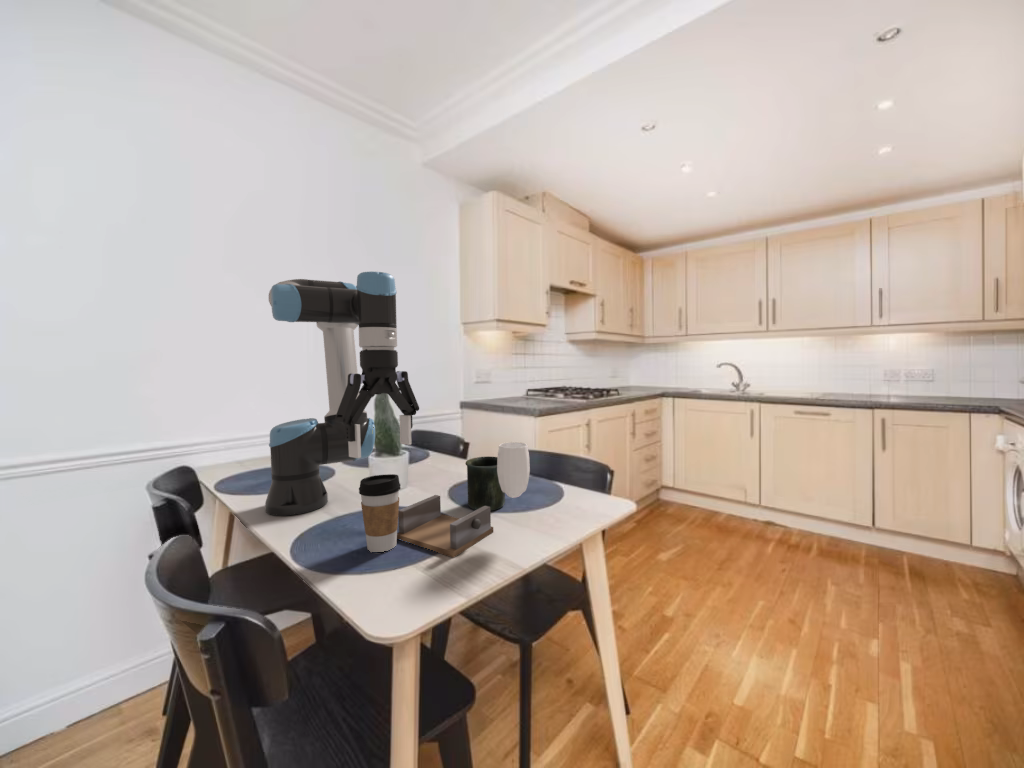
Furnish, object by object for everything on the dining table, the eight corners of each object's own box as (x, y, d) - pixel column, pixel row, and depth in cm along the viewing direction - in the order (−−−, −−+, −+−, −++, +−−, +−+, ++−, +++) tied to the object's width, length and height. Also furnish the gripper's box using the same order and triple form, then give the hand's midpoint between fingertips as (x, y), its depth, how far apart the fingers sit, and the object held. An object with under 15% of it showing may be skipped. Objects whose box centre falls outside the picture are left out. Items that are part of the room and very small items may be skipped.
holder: (392, 538, 92) (391, 511, 92) (435, 517, 104) (435, 493, 103) (457, 558, 82) (456, 528, 82) (497, 533, 94) (496, 506, 94)
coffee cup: (390, 557, 83) (388, 484, 82) (352, 554, 85) (349, 482, 84) (409, 539, 91) (407, 472, 90) (374, 536, 93) (371, 471, 92)
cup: (534, 543, 88) (532, 447, 87) (500, 546, 87) (498, 449, 86) (527, 529, 96) (526, 440, 94) (496, 532, 94) (494, 442, 93)
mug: (461, 511, 107) (460, 466, 106) (474, 493, 122) (473, 453, 121) (503, 513, 106) (502, 467, 105) (511, 494, 120) (510, 453, 119)
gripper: (337, 348, 73) (342, 466, 75) (433, 349, 94) (435, 441, 96) (311, 349, 77) (316, 461, 78) (409, 349, 98) (411, 438, 100)
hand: (382, 450), depth 87 cm, fingers open, 13 cm apart
